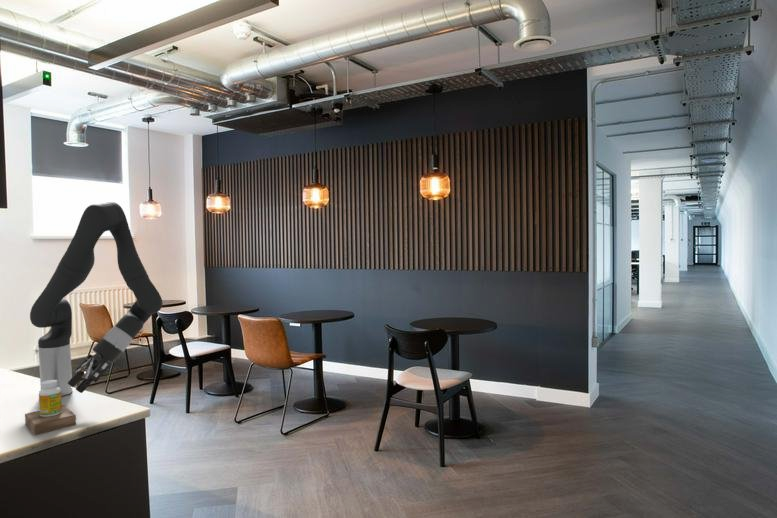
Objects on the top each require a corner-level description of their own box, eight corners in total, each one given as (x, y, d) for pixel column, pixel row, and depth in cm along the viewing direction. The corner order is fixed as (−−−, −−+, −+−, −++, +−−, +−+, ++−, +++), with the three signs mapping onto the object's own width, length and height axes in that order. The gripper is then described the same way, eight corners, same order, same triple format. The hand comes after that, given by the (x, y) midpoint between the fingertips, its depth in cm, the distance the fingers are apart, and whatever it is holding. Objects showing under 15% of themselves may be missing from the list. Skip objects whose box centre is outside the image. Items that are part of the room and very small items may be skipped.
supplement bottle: (50, 418, 146) (49, 385, 146) (35, 416, 147) (33, 384, 147) (66, 411, 151) (64, 379, 151) (51, 410, 152) (49, 378, 152)
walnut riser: (25, 423, 150) (24, 413, 150) (64, 414, 157) (63, 405, 157) (35, 435, 142) (35, 424, 141) (76, 424, 149) (75, 414, 149)
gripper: (96, 334, 164) (57, 377, 156) (111, 340, 154) (70, 386, 146) (114, 347, 168) (77, 389, 160) (130, 354, 158) (91, 400, 150)
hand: (74, 388), depth 153 cm, fingers open, 8 cm apart
